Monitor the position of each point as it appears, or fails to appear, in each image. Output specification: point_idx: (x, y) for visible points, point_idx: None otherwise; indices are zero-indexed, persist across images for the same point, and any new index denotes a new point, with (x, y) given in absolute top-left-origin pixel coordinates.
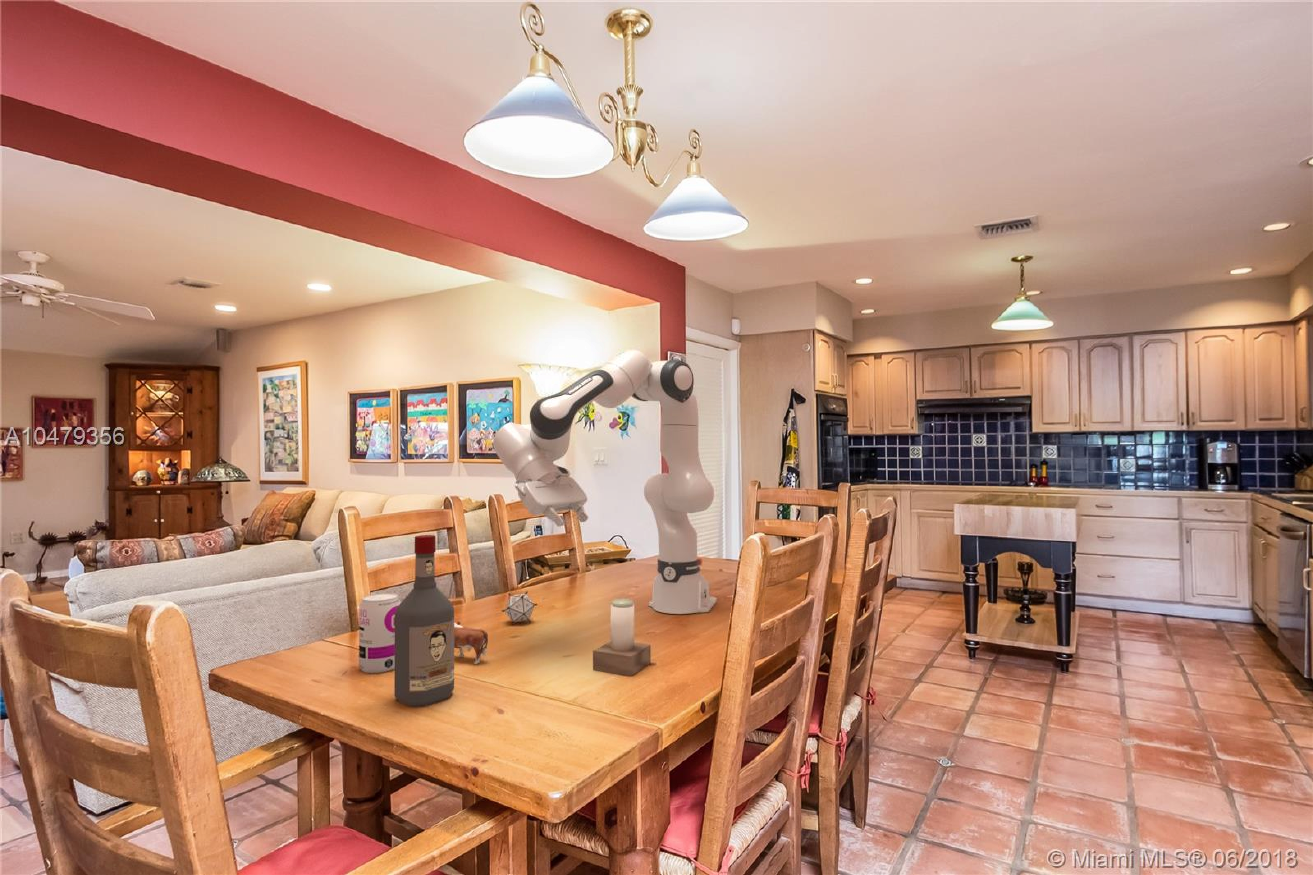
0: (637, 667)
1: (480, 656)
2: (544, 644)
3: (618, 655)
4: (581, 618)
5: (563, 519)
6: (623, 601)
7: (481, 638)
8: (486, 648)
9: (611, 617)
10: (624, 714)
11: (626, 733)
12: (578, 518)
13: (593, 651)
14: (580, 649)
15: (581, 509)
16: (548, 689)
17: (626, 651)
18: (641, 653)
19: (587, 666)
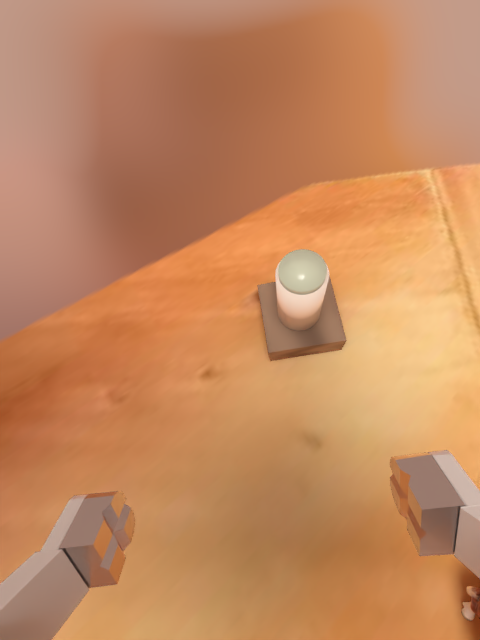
0: None
1: (468, 602)
2: (287, 544)
3: (333, 293)
4: (73, 622)
5: (422, 466)
6: (302, 266)
7: None
8: (474, 587)
9: (323, 296)
10: (435, 214)
11: (473, 182)
12: (119, 563)
13: (345, 339)
14: (268, 445)
15: (21, 601)
16: (456, 346)
17: None
18: None
19: (333, 368)
